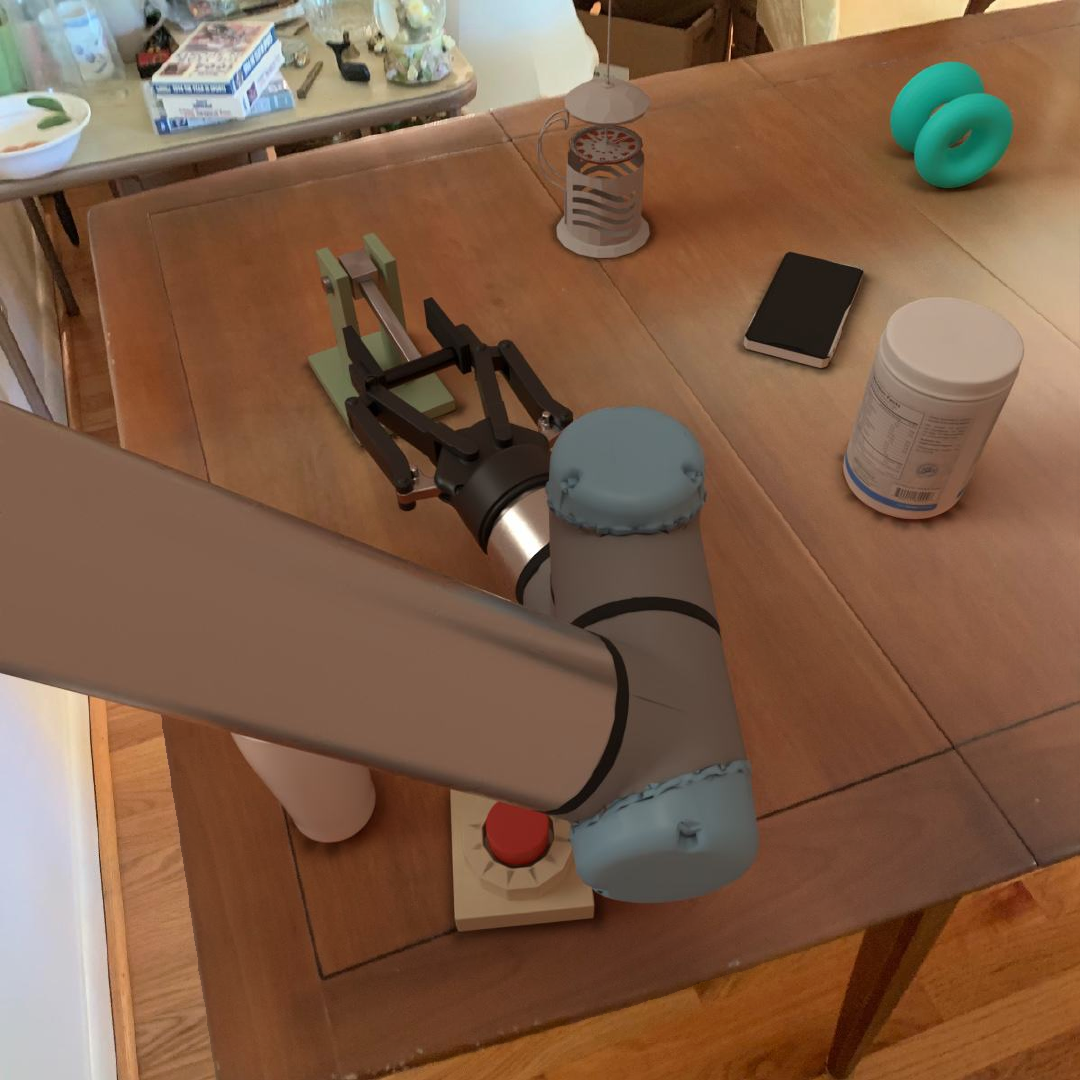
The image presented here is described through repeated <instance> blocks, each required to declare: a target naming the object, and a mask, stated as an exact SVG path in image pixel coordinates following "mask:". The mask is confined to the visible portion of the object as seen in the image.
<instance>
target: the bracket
mask: <svg viewBox="0 0 1080 1080" xmlns="http://www.w3.org/2000/svg"><path fill="white" fill-rule="evenodd" d="M362 240H363V244H364V245H363V246H364V250H365V251H366V253H367V254H368V256H369V258H370V259H371V261H372V262H373V264H374V265H375V267H376V268H377V270H378V278H379V286H380V292H381V294H382V296H383V297H384V299H385V300H386V302H387V303H388V305H389V306H390V308H391V310H392V311H393V313H394V314H395V316H396V317H397V319H398V320H399V322H400V324H401V325H402V327H403V328H404V330H405V331H406V333H407V335H408V336H409V334H408V329H407V322H406V317H405V316H406V315H405V310H404V303H403V298H402V291H401V285H400V279H399V271H398V266H397V260H396V258H395V257H394V256H393V255H392V253H391V252H390V251H389V250H388V248H387V247H386V246H385V244H384V243H383V242H382V241H381V240H380V237H379V236H378V235H377V234H376V233H375V232H370V233H367V234H364V235H362ZM315 254H316V258H317V263H318V268H319V272H320V275H321V277H320V283H321V286H322V289H323V292H324V294H325V297H326V301H327V306H328V311H329V314H330V319H331V323H332V328H333V332H334V336H335V341H336V345H335V346H332V347H330V348H326V349H324V350H321V351H319V352H316V353H313V354H310V355H308V356H307V360H308V364H309V366H310V368H311V370H312V372H313V373H314V375H315V376H316V378H317V379H318V381H319V382H320V384H321V386H322V387H323V389H324V390H325V392H326V394H327V396H328V397H329V398H330V400H331V402H332V403H333V405H334V407H335V409H336V410H337V411H338V414H339V415H340V416H341V418H342V419H343V421H344V422H345V424H346V426H347V428H348V429H349V430H350V432H351V434H352V436H353V438H354V439H355V440H356V442H357V444H358V445H359V447H364V446H363V445H362V444H361V442H360V441H359V440H358V439H357V437H356V436H355V435H354V433H353V432H352V431H351V429H350V425H349V421H348V416H347V412H346V408H345V404H344V403H345V400H346V399H347V398H349V397H352V396H356V397H358V396H359V394H358V393H357V391H356V390H355V388H354V387H353V385H352V382H351V378H350V373H349V365H350V364H353V363H352V361H351V360H350V358H349V357H348V353H347V349H346V344H345V340H344V335H343V331H342V328H344V327H347V326H350V325H352V327H353V328H354V330H355V331H356V333H357V334H358V336H359V337H360V338H361V340H362V341H363V343H364V344H365V346H366V347H367V349H368V350H369V351H370V353H371V354H372V356H373V357H374V359H375V360H376V362H377V363H378V364H379V366H380V367H381V369H382V370H383V371H384V370H387V369H390V368H393V367H395V366H398V365H401V364H403V363H405V362H404V360H403V359H402V357H401V355H400V354H399V352H398V351H397V349H396V347H395V346H394V344H393V343H392V341H391V339H390V338H389V336H388V335H387V333H386V332H385V330H384V328H383V327H382V325H381V324H380V322H379V320H378V319H377V321H378V325H379V330H378V331H375V332H372V333H369V334H366V335H364V336H361V331H360V327H359V322H358V317H357V312H356V307H355V303H354V302H355V301H354V298H353V296H352V292H351V287H350V282H349V278H348V275H347V273H346V272H345V271H344V269H343V268H342V267H341V265H340V264H339V260H338V259H337V258H336V256H335V255H334V254H333V252H332V251H331V250H330V249H329V247H327V246H326V247H323V248H320V249H316V250H315ZM418 352H419V350H418ZM419 353H420V352H419ZM420 355H421V356H423V355H422V354H421V353H420ZM389 391H391V392H392V393H394V394H395V395H396V396H398V397H399V398H401V399H402V400H404V401H405V402H407V403H408V404H410V405H411V406H412V407H414V408H415V409H417V410H418V411H420V412H421V413H423V414H424V415H426V416H427V417H429V418H430V419H431V420H433V419H435V418H438V417H440V416H443V415H445V414H448V413H451V412H453V411H455V410H456V408H457V407H456V401H455V398H454V397H453V396H452V394H451V393H450V391H449V389H447V387H446V386H445V385H444V383H443V382H442V380H441V379H440V378H439V376H437V374H436V372H435V373H433V374H430V375H427V376H425V377H422V378H419V379H417V380H414V381H411V382H409V383H406V384H404V385H401V386H398V387H396V388H393V389H390V390H389ZM379 423H380V422H379ZM380 424H381V423H380ZM381 425H382V424H381ZM382 426H383V428H384V429H385V430H386V431H387V433H388V434H389V435H390V436H393V435H394V434H395V433H394V432H392V431H391V430H389V429H388V428H387V427H385V426H384V425H382Z"/></svg>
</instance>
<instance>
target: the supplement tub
mask: <svg viewBox="0 0 1080 1080" xmlns="http://www.w3.org/2000/svg"><path fill="white" fill-rule="evenodd" d="M1024 355H1025V343H1024V340H1023V337H1022V336H1021V334H1020V331H1018V329H1017V328H1016V327H1015V325H1014V324H1013V323H1012V322H1011V321H1009V320H1008V319H1007V318H1006V317H1005V316H1004V315H1002V314H1000V313H999V312H997V311H996V310H995V309H992V308H990V307H988V306H986V305H983V304H980V303H978V302H975V301H971V300H968V299H963V298H958V297H951V296H934V297H933V296H932V297H926V298H920V299H916V300H913V301H911V302H908V303H906V304H904V305H902V306H900V307H899V308H897V310H896V311H894V312H893V313H892V314H891V316H890V317H889V319H888V320H887V324H886V326H885V329H884V331H883V332H882V334H881V336H880V338H879V343H878V346H877V348H876V352H875V355H874V358H873V361H872V363H871V364H872V365H871V368H870V371H869V375H868V378H867V381H866V385H865V388H864V391H863V393H862V397H861V401H860V404H859V408H858V411H857V414H856V417H855V421H854V422H853V423H854V424H853V427H852V431H851V434H850V437H849V441H848V443H847V447H846V450H845V453H844V457H843V463H842V465H843V466H842V467H843V468H842V469H843V475H844V477H845V481H846V483H847V485H848V487H849V489H850V490H851V491H852V493H853V494H854V495H855V496H856V498H858V500H860V501H861V502H862V503H864V504H865V505H866V506H868V507H870V508H871V509H873V510H874V511H877V512H879V513H881V514H884V515H886V516H890V517H894V518H897V519H904V520H920V519H921V520H922V519H928V518H933V517H936V516H939V515H942V514H943V513H945V512H947V511H949V510H950V509H951V508H952V507H954V505H956V504H957V502H958V501H959V500H960V498H961V497H962V496H963V494H964V492H965V490H966V488H967V486H968V484H969V482H970V479H971V477H972V475H973V472H974V471H975V468H976V467H977V464H978V462H979V460H980V458H981V456H982V453H983V451H984V450H985V447H986V446H987V443H988V440H989V439H990V436H991V434H992V432H993V430H994V428H995V426H996V423H997V421H998V419H999V417H1000V415H1001V413H1002V410H1003V408H1004V406H1005V404H1006V402H1007V400H1008V398H1009V396H1010V394H1011V391H1012V388H1013V387H1014V384H1015V382H1016V380H1017V377H1018V375H1019V372H1020V366H1021V364H1022V361H1023V360H1024Z"/></svg>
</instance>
